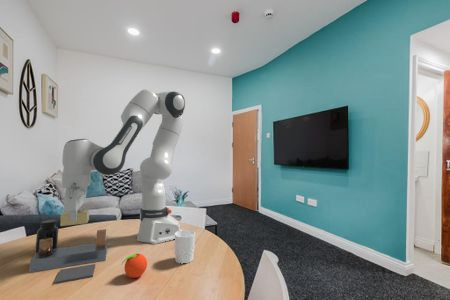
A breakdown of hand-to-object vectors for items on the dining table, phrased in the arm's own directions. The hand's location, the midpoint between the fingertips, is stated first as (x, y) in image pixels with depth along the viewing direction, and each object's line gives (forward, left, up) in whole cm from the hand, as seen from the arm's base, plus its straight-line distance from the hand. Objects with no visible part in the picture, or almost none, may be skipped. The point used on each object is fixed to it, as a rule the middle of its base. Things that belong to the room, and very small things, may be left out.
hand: (75, 219), depth 80 cm
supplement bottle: (+11, -14, -16) cm, 24 cm away
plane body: (0, 0, -15) cm, 15 cm away
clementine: (-20, +20, -16) cm, 32 cm away
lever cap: (0, 0, -1) cm, 1 cm away
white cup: (-38, +15, -16) cm, 43 cm away
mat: (-3, +11, -15) cm, 19 cm away
